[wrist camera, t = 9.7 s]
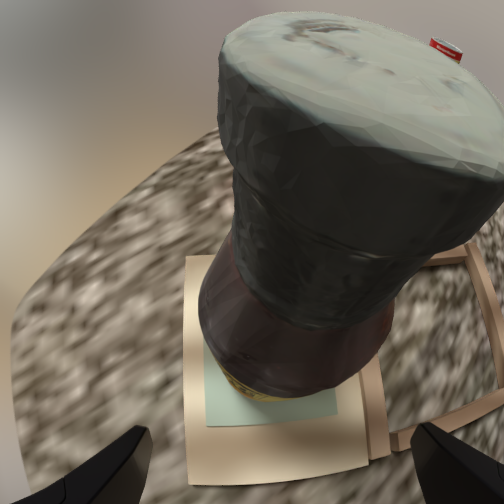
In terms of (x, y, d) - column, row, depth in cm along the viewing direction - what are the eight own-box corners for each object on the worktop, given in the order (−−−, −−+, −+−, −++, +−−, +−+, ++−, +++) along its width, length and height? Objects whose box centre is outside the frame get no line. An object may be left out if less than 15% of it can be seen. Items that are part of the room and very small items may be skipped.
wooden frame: (509, 401, 17) (519, 398, 16) (190, 482, 16) (186, 486, 14) (467, 246, 27) (473, 238, 25) (187, 261, 25) (184, 251, 24)
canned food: (445, 86, 52) (459, 48, 42) (450, 98, 48) (466, 56, 38) (417, 73, 54) (429, 34, 43) (420, 84, 50) (434, 40, 39)
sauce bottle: (215, 327, 21) (141, 6, 4) (299, 311, 22) (403, 15, 5) (232, 415, 18) (4, 377, 1) (321, 395, 18) (610, 214, 1)
